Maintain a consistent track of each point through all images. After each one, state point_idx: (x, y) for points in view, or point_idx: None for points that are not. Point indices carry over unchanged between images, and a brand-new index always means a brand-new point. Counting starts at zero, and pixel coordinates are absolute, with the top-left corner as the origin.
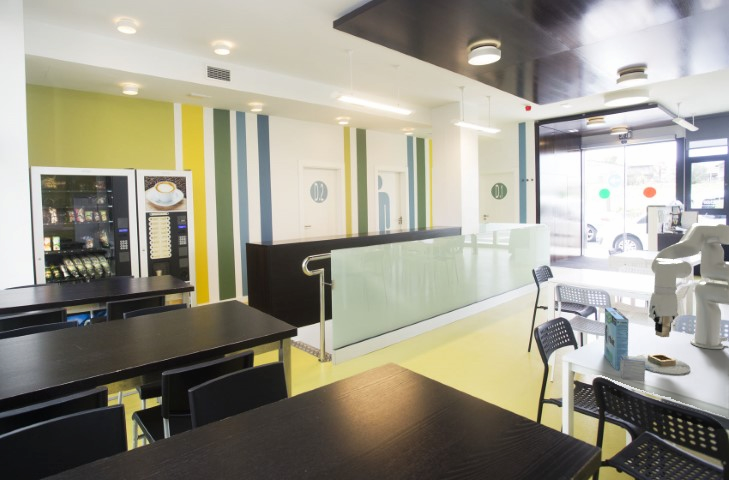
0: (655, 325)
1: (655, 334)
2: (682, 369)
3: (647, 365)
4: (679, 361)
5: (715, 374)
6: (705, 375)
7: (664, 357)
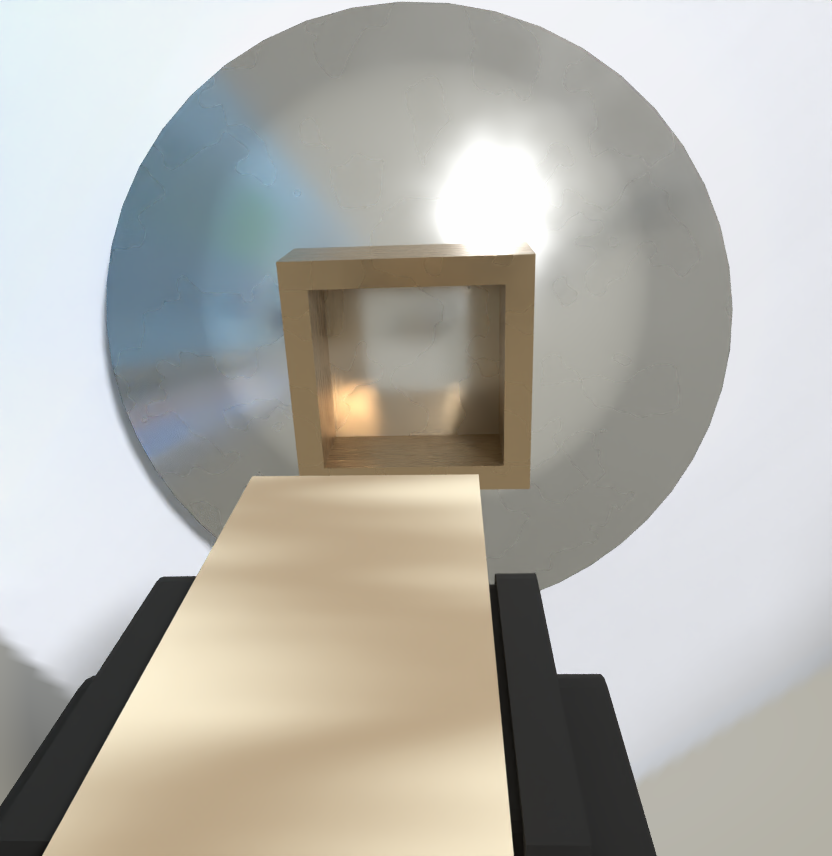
0: (23, 785)
1: (249, 481)
2: (500, 557)
3: (180, 394)
4: (697, 350)
5: (774, 646)
6: (649, 647)
7: (503, 325)
